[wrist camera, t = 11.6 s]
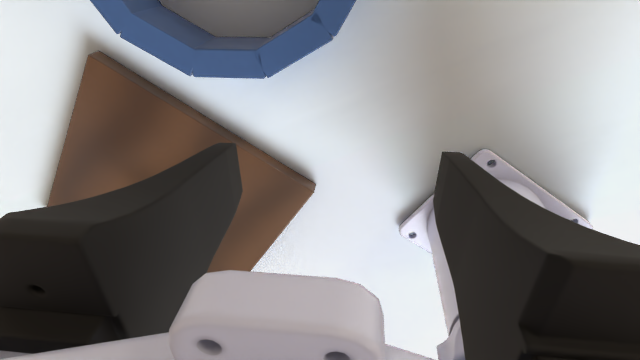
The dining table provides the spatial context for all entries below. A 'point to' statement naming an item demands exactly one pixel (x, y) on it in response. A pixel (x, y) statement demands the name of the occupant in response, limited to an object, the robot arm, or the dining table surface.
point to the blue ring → (221, 39)
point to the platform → (168, 157)
